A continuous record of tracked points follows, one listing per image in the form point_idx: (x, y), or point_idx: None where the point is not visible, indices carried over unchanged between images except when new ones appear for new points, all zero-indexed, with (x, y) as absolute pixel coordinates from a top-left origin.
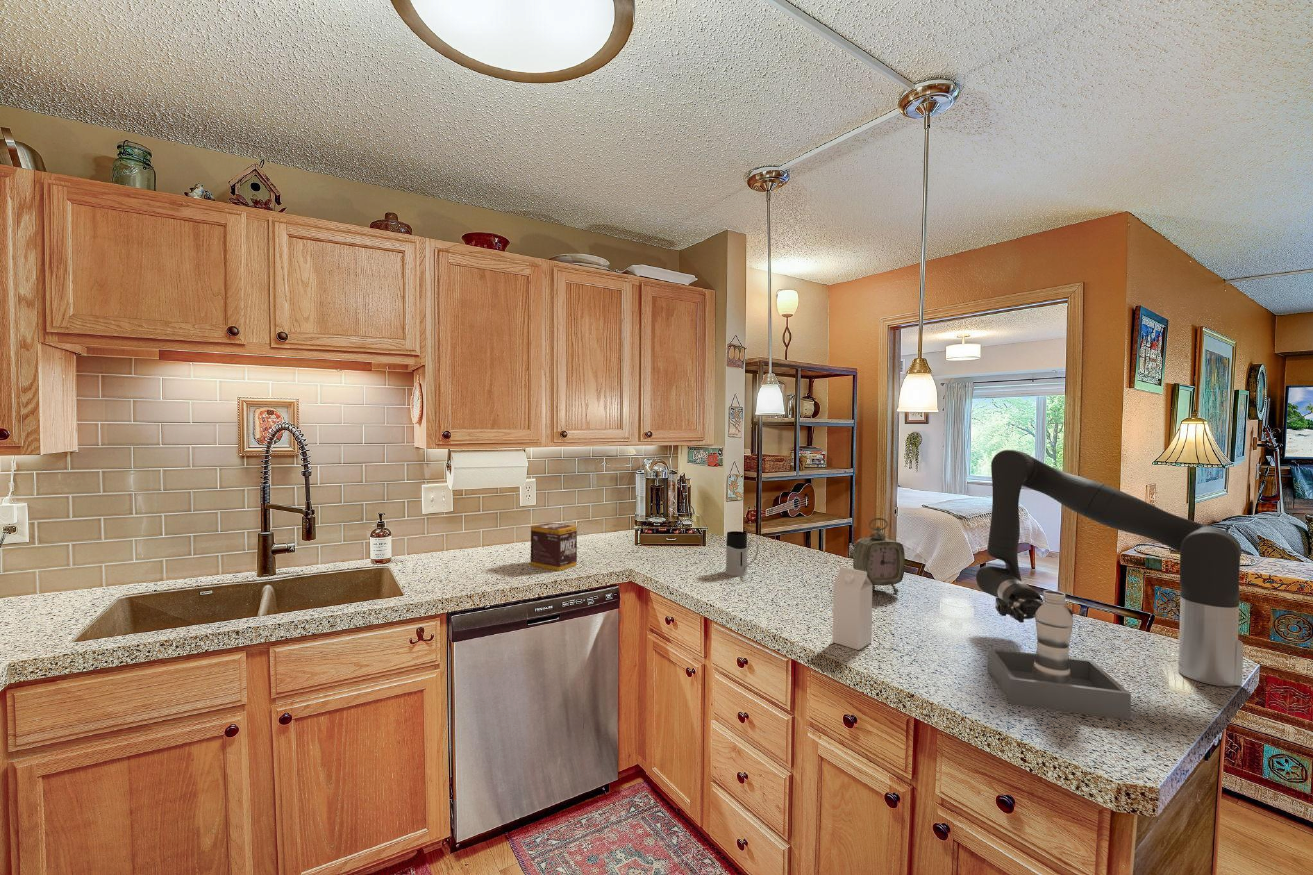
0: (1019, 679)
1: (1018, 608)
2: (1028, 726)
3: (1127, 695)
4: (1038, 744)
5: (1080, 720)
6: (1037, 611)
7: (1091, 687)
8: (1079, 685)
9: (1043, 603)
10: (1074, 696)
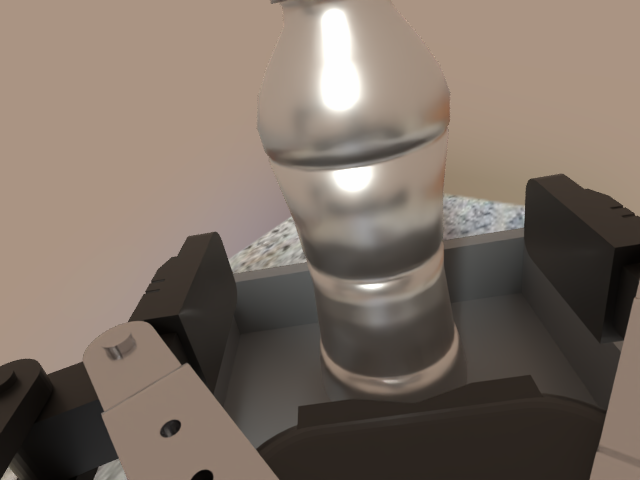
0: (508, 234)
1: (608, 242)
2: (480, 233)
3: None
4: (463, 202)
5: None
6: (435, 60)
7: (303, 269)
8: None
9: (227, 452)
10: None
